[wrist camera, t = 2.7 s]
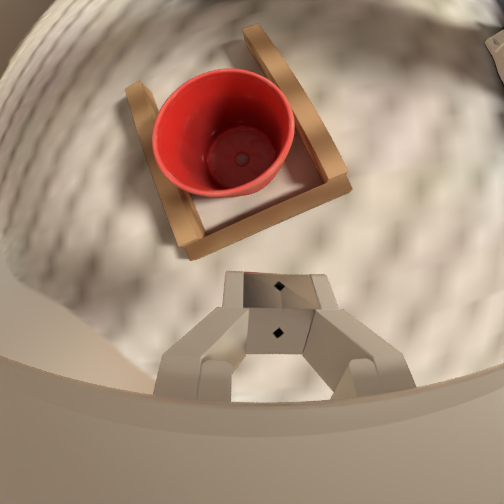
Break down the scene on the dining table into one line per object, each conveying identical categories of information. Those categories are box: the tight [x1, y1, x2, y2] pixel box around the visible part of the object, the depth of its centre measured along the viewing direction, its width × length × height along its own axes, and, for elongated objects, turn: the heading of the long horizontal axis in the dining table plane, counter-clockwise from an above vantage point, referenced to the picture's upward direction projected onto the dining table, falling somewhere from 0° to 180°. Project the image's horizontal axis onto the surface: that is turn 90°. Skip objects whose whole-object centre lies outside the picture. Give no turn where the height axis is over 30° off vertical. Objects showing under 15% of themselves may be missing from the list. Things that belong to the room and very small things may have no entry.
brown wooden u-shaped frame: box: [125, 24, 352, 261], centre depth 28 cm, size 22×17×4 cm
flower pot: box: [152, 69, 295, 197], centre depth 25 cm, size 11×11×10 cm
